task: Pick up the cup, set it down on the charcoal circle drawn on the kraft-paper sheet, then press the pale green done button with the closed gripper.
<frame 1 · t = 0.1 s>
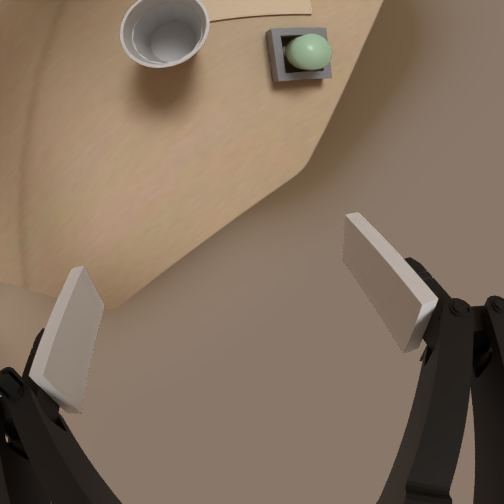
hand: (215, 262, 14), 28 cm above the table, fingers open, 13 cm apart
button: (308, 52, 28), point 5 cm above the table, slide at 0.0 cm
button housing: (295, 54, 32), on the table
cup: (174, 42, 29), on the table
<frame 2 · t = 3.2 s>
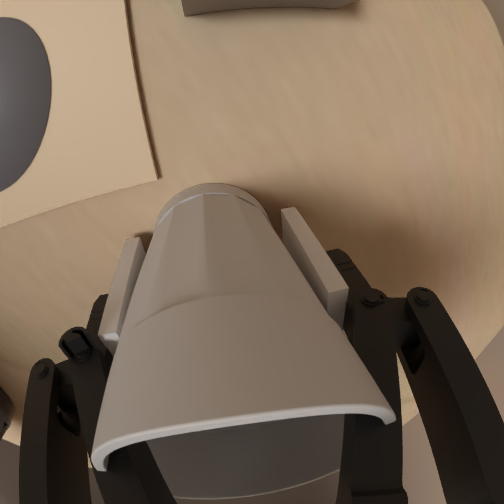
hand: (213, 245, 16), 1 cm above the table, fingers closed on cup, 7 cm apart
cup: (212, 237, 16), on the table, touching gripper
when the fingers open (3 cm above the table, at t = 8.7 s): cup drops 1 cm, resting on sheet.
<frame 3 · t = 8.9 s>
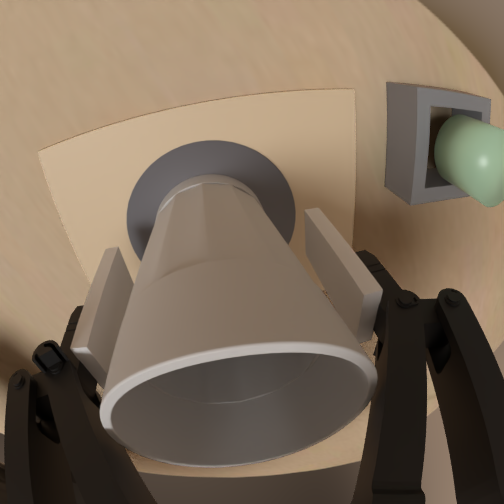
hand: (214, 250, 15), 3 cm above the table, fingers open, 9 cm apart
button: (478, 158, 12), point 5 cm above the table, slide at 0.0 cm
button housing: (427, 135, 17), on the table
sheet: (211, 222, 18), on the table
cup: (209, 224, 17), resting on sheet
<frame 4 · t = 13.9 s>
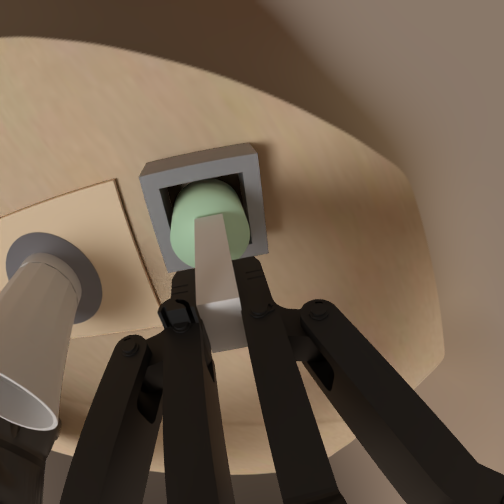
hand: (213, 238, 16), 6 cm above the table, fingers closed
button: (208, 222, 18), point 4 cm above the table, slide at 1.2 cm, touching gripper
button housing: (206, 198, 21), on the table
sheet: (52, 280, 22), on the table
cup: (50, 282, 22), resting on sheet
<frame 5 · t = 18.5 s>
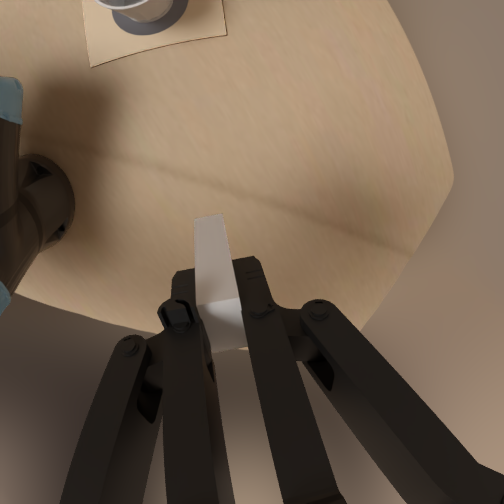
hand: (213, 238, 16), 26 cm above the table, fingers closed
sheet: (149, 2, 26), on the table
cup: (148, 2, 26), resting on sheet
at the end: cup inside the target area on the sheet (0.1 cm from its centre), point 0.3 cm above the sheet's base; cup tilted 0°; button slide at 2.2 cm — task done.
